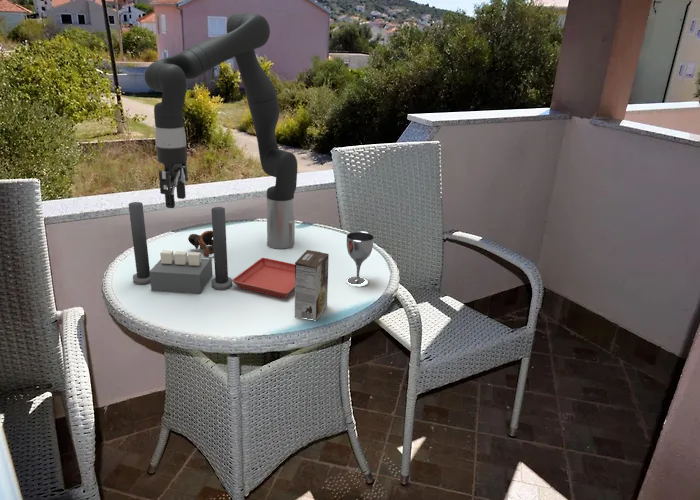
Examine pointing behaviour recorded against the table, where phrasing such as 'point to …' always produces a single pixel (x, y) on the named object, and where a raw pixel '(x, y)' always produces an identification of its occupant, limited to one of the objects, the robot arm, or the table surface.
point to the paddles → (180, 258)
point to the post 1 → (139, 244)
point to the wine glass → (359, 251)
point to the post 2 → (220, 250)
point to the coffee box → (311, 284)
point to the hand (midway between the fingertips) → (176, 202)
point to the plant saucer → (268, 277)
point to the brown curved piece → (203, 242)
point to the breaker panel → (181, 276)
